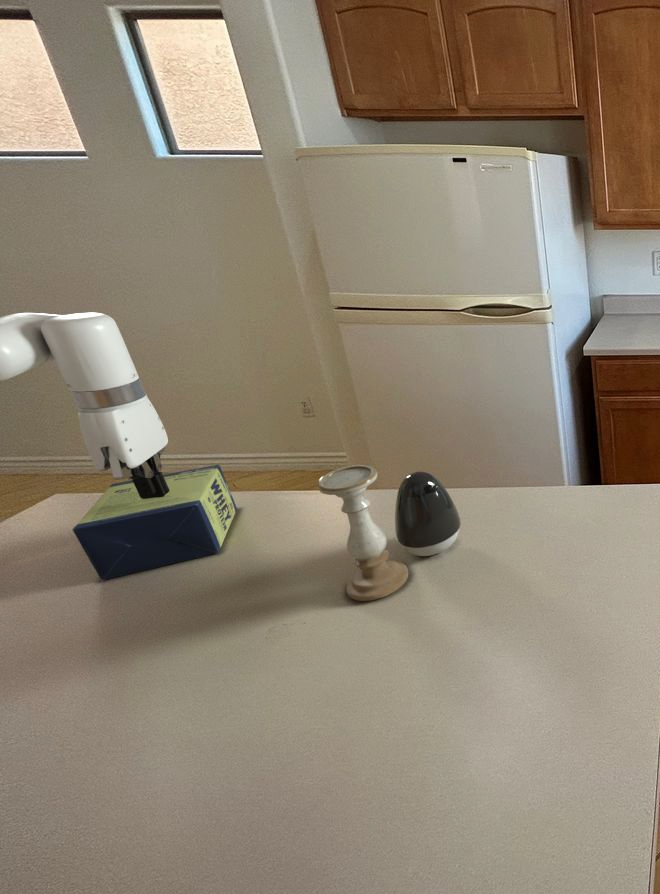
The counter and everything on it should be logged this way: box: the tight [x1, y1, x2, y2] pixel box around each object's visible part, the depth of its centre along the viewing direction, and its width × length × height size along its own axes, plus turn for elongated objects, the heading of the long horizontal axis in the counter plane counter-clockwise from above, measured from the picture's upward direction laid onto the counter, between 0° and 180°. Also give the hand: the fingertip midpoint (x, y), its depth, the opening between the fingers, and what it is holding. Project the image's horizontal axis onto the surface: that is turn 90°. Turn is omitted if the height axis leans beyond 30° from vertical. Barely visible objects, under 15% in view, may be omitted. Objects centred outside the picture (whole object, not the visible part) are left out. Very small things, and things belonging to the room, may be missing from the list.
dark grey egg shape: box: [394, 470, 462, 557], centre depth 97 cm, size 10×10×15 cm
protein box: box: [72, 464, 238, 581], centre depth 98 cm, size 10×16×16 cm
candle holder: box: [317, 464, 409, 602], centre depth 87 cm, size 9×9×20 cm
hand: (155, 495), depth 93 cm, fingers closed
